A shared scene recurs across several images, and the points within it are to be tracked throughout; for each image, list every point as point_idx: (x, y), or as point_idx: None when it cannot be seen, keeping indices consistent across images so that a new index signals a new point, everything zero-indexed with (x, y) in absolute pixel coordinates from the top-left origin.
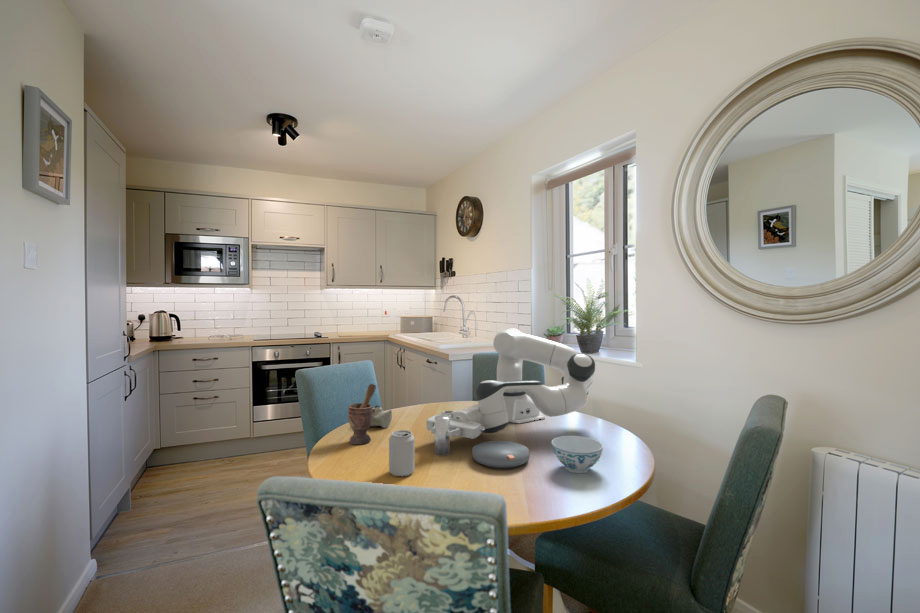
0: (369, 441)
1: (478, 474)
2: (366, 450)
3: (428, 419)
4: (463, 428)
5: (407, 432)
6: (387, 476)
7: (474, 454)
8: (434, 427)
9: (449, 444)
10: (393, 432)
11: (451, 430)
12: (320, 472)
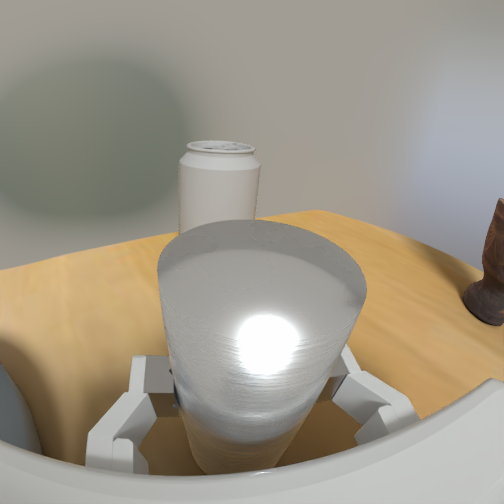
0: (478, 317)
1: (7, 326)
2: (422, 291)
3: (502, 385)
4: (48, 459)
5: (223, 155)
6: None
7: (7, 373)
8: (347, 362)
9: (192, 448)
10: (248, 145)
11: (149, 390)
12: (335, 216)
